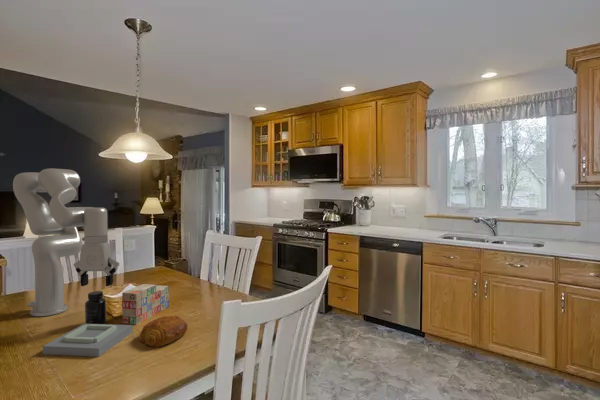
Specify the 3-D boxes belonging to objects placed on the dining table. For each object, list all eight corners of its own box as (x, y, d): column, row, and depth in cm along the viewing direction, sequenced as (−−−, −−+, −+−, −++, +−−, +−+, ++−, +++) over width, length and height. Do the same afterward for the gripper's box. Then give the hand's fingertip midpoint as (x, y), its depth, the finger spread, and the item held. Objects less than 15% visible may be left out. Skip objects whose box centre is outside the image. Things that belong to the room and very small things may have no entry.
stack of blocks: (156, 305, 147) (156, 278, 147) (169, 306, 146) (169, 279, 146) (121, 324, 126) (121, 291, 126) (136, 325, 125) (136, 293, 125)
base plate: (42, 354, 102) (42, 342, 102) (84, 330, 120) (84, 320, 120) (98, 356, 100) (98, 344, 100) (132, 332, 118) (132, 321, 118)
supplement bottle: (91, 320, 129) (91, 290, 129) (109, 320, 129) (109, 289, 129) (81, 327, 122) (81, 295, 122) (100, 327, 122) (100, 295, 122)
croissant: (194, 339, 118) (197, 316, 119) (160, 351, 104) (163, 325, 105) (164, 331, 124) (167, 309, 125) (128, 341, 110) (131, 317, 111)
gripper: (66, 241, 122) (67, 288, 122) (111, 241, 121) (112, 288, 121) (81, 239, 129) (82, 282, 129) (124, 238, 128) (124, 282, 128)
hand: (96, 285), depth 125 cm, fingers open, 9 cm apart
